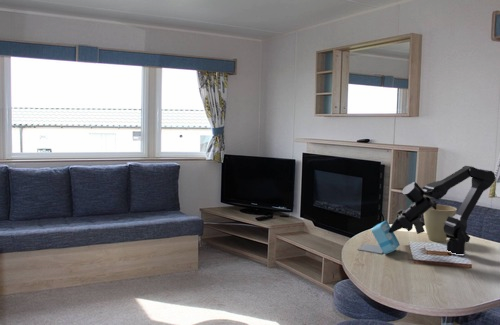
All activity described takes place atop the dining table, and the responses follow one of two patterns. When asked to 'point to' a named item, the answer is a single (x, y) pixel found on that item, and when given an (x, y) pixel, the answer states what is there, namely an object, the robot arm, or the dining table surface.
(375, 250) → the gray flat panel
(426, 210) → the robot arm
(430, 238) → the plant pot
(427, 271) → the dining table surface
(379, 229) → the data package
